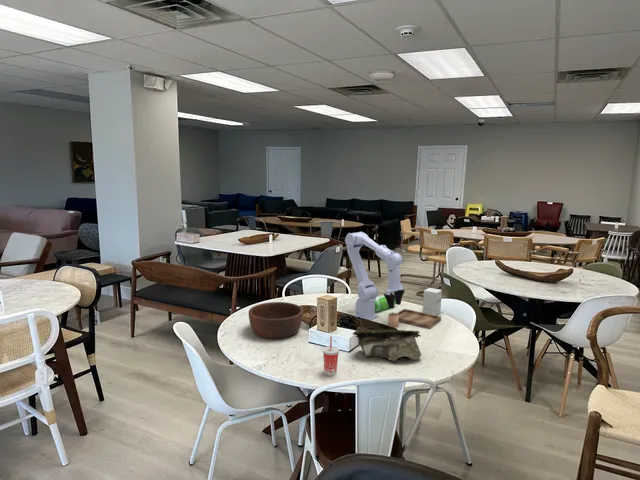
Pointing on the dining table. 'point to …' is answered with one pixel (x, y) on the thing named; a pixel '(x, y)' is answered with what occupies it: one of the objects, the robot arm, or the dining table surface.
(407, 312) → the walnut tray
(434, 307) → the supplement box
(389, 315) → the terracotta cup
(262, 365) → the dining table surface
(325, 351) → the beverage cup
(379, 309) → the speaker
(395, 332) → the mossy rock
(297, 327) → the wooden bowl
